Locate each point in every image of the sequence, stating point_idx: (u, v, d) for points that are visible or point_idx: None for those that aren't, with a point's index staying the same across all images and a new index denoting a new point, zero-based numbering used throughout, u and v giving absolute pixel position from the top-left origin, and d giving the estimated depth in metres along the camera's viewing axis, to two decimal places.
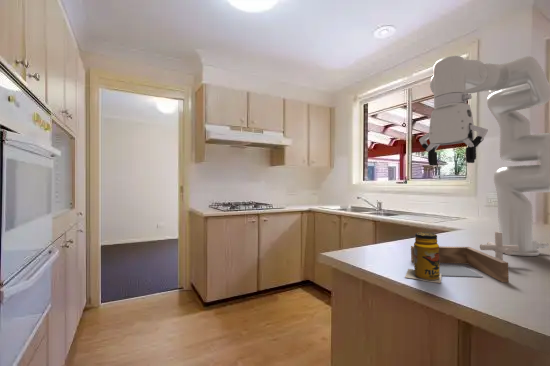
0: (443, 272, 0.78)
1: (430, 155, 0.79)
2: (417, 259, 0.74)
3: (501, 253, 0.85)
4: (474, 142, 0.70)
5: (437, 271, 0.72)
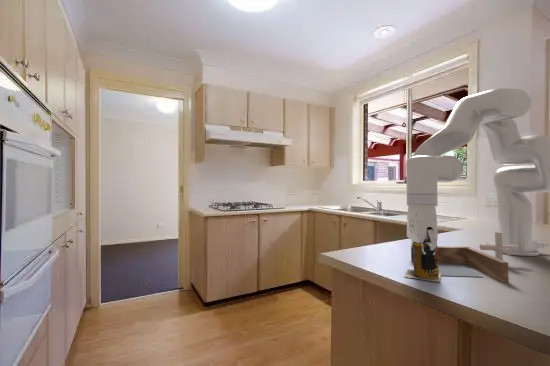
0: (443, 272, 0.78)
1: None
2: (415, 258, 0.74)
3: (501, 253, 0.85)
4: None
5: (436, 270, 0.72)
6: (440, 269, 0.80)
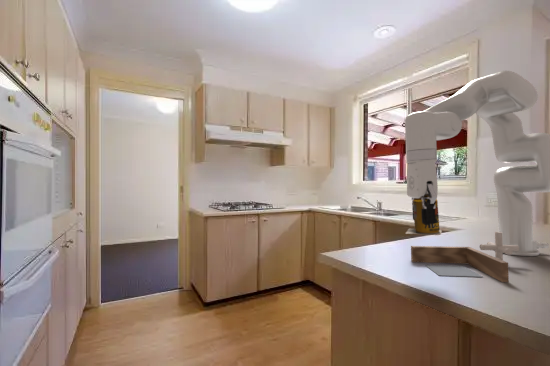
0: (443, 272, 0.78)
1: None
2: (416, 215, 0.75)
3: (501, 253, 0.85)
4: None
5: (437, 225, 0.73)
6: (440, 269, 0.80)
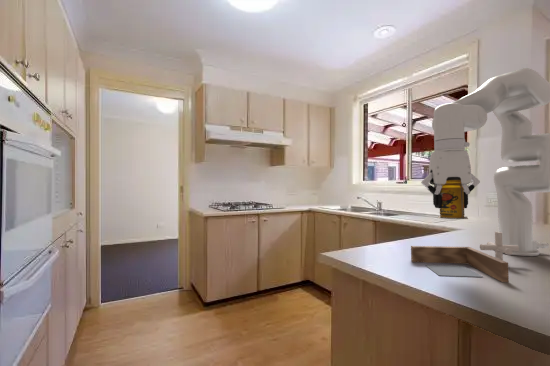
0: (443, 272, 0.78)
1: (440, 198, 0.79)
2: None
3: (501, 253, 0.85)
4: (469, 191, 0.78)
5: (445, 210, 0.77)
6: (440, 269, 0.80)
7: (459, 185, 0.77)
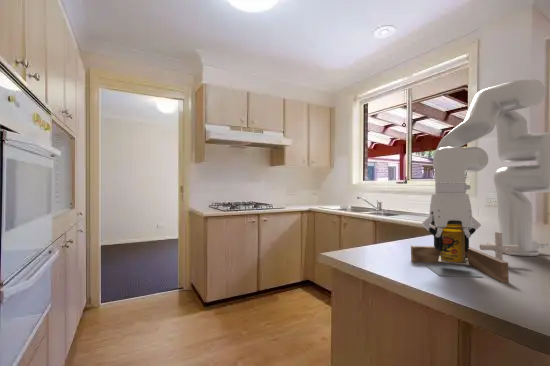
0: (443, 272, 0.78)
1: (441, 241, 0.78)
2: None
3: (501, 253, 0.85)
4: (470, 234, 0.78)
5: (446, 253, 0.77)
6: (440, 269, 0.80)
7: (460, 229, 0.77)
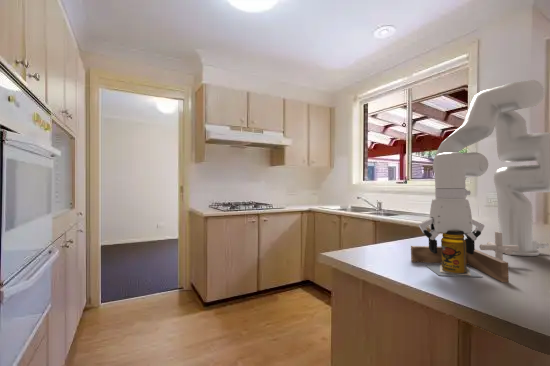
0: (443, 272, 0.78)
1: (436, 244, 0.79)
2: None
3: (501, 253, 0.85)
4: (475, 236, 0.78)
5: (448, 264, 0.77)
6: None
7: (462, 240, 0.76)
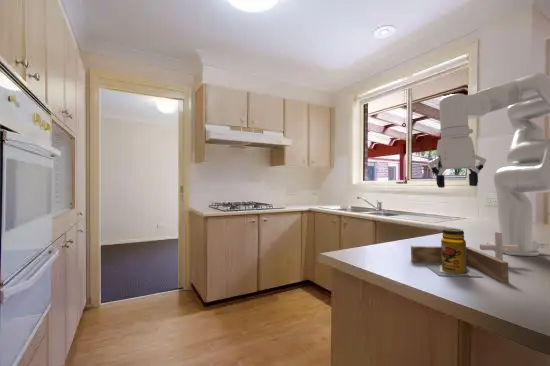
0: (443, 272, 0.78)
1: (443, 178, 0.87)
2: None
3: (501, 253, 0.85)
4: (478, 169, 0.86)
5: (448, 264, 0.77)
6: None
7: (462, 240, 0.76)
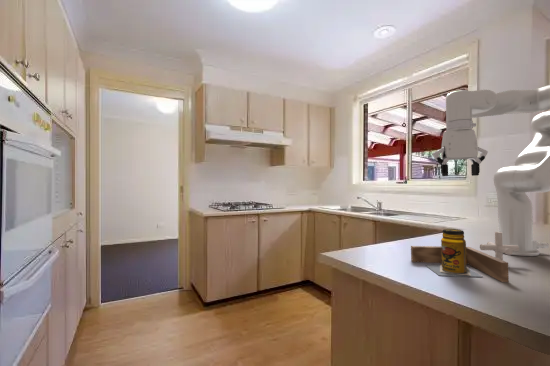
0: (443, 272, 0.78)
1: (447, 167, 0.94)
2: None
3: (501, 253, 0.85)
4: None
5: (448, 264, 0.77)
6: None
7: (462, 240, 0.76)
